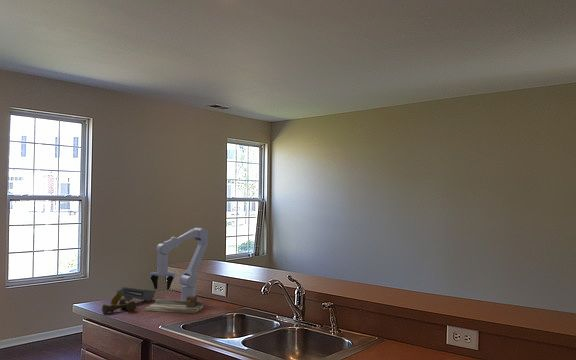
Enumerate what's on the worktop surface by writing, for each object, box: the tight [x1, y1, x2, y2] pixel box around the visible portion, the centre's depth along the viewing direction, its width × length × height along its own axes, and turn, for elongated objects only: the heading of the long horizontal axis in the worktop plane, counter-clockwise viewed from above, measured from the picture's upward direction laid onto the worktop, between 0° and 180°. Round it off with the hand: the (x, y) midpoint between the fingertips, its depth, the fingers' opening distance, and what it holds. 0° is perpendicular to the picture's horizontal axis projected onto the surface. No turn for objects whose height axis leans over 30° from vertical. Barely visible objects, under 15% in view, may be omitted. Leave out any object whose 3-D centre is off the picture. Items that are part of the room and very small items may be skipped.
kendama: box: [101, 297, 139, 315], centre depth 262 cm, size 6×10×20 cm
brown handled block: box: [185, 295, 198, 308], centre depth 265 cm, size 10×4×6 cm, turn 169°
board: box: [144, 298, 204, 314], centre depth 267 cm, size 13×28×4 cm, turn 79°
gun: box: [110, 286, 157, 305], centre depth 282 cm, size 3×25×15 cm, turn 136°
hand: (162, 289), depth 275 cm, fingers open, 7 cm apart
